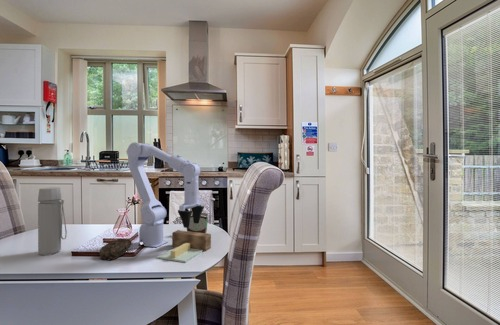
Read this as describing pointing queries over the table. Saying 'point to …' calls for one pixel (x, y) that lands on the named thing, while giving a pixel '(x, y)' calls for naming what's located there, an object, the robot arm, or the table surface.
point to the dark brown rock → (114, 249)
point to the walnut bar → (192, 239)
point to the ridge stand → (180, 253)
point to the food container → (199, 224)
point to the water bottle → (50, 221)
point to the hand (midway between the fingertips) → (191, 225)
